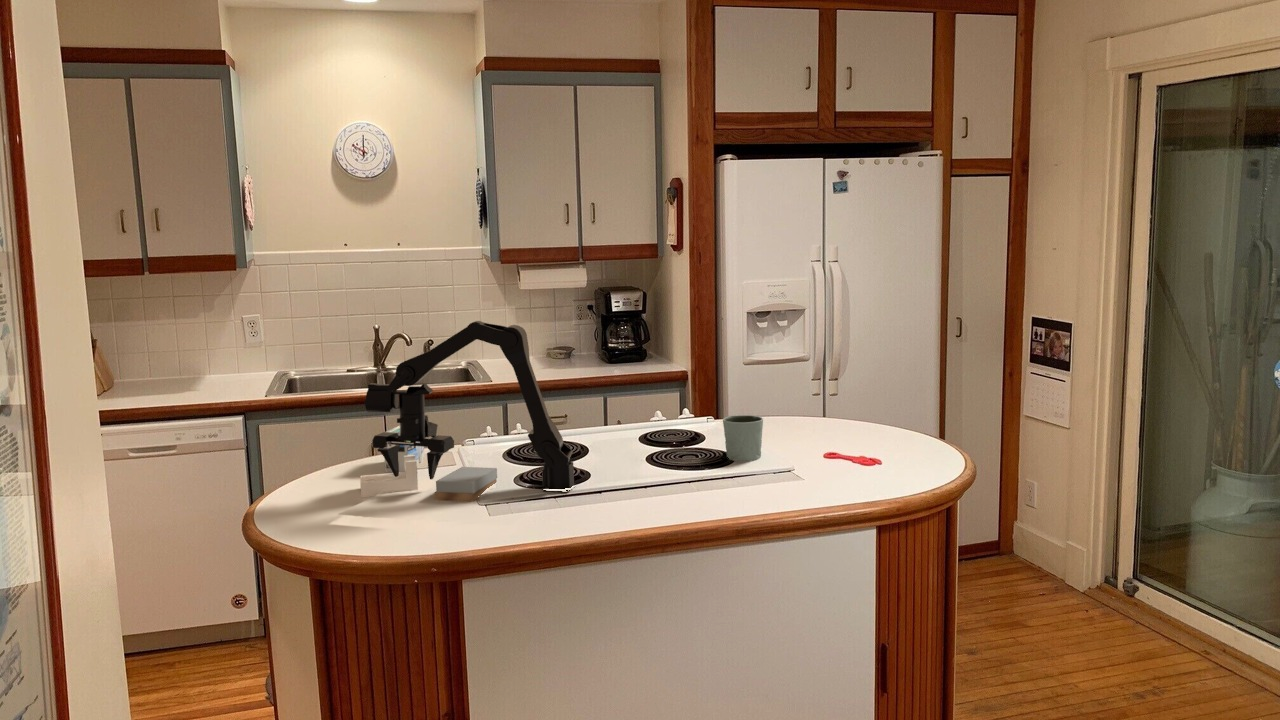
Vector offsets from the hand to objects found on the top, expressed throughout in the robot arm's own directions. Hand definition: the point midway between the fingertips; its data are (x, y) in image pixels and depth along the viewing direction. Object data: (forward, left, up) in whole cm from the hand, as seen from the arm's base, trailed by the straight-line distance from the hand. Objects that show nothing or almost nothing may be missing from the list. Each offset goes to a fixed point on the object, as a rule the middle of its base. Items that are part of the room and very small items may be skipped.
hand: (414, 477), depth 230 cm
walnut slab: (-13, 0, -4) cm, 14 cm away
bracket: (+7, 0, -4) cm, 8 cm away
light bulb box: (+13, -18, -3) cm, 22 cm away
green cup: (-71, -40, -3) cm, 82 cm away
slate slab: (-14, 0, -1) cm, 14 cm away
